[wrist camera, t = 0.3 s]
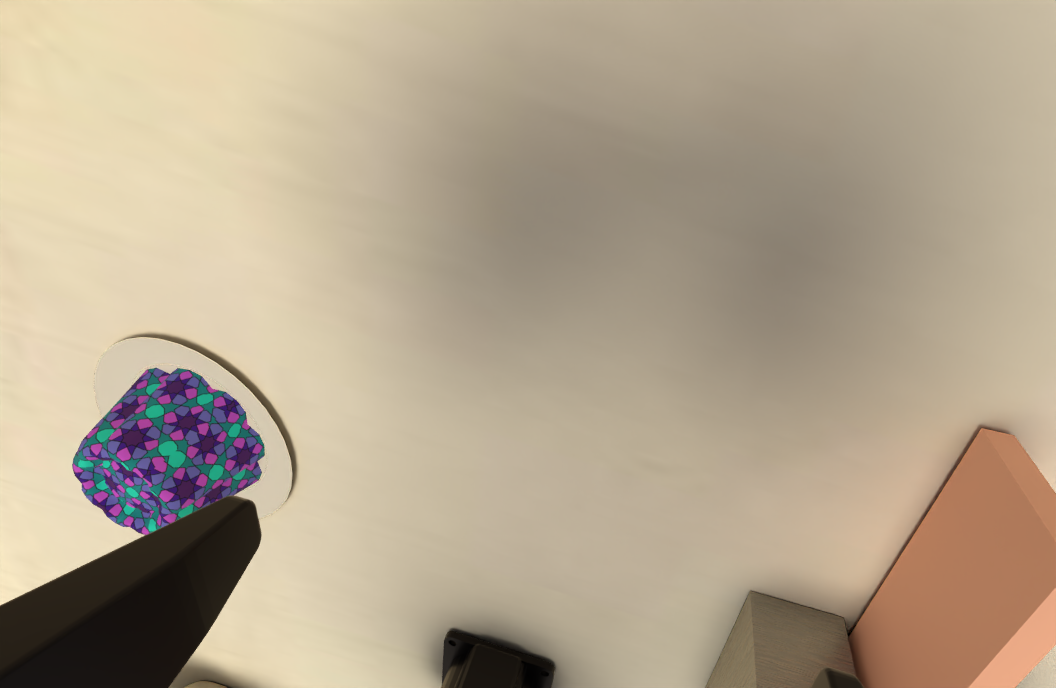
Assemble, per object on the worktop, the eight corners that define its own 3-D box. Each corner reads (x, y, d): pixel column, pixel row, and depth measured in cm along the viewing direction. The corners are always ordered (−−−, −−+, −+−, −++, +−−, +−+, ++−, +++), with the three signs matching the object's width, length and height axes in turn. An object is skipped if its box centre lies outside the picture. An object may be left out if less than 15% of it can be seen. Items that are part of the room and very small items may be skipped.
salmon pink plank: (822, 717, 29) (846, 865, 24) (802, 710, 29) (820, 856, 24) (1014, 435, 20) (1117, 579, 15) (981, 428, 20) (1072, 568, 15)
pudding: (343, 468, 30) (280, 545, 26) (226, 535, 36) (159, 607, 32) (169, 287, 28) (66, 339, 23) (73, 391, 33) (-24, 448, 29)
